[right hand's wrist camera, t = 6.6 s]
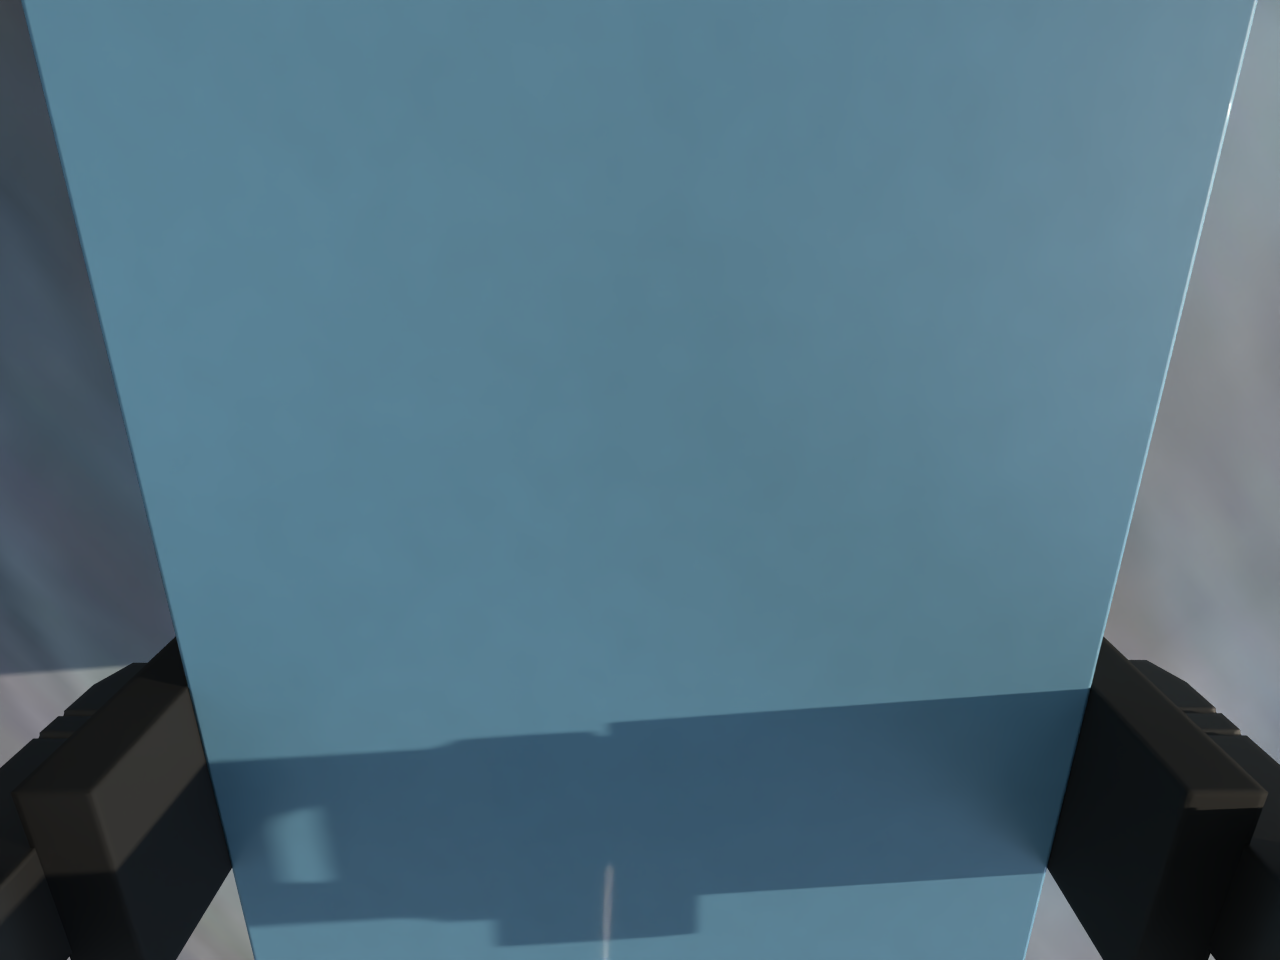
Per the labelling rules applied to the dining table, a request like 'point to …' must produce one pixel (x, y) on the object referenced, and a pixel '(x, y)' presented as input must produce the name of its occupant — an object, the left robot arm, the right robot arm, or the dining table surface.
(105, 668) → the dining table surface
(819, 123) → the cabinet
